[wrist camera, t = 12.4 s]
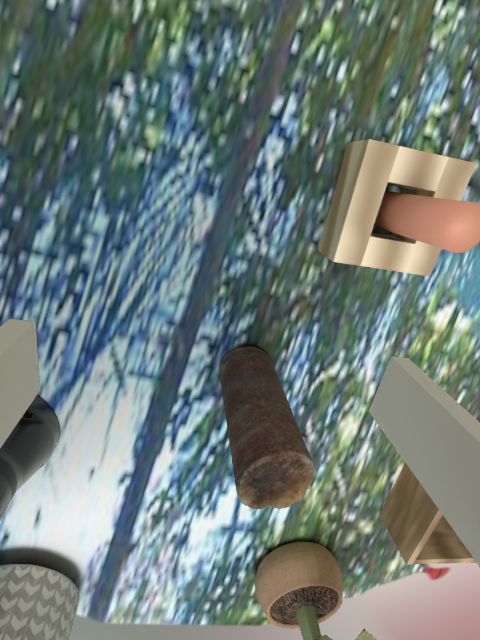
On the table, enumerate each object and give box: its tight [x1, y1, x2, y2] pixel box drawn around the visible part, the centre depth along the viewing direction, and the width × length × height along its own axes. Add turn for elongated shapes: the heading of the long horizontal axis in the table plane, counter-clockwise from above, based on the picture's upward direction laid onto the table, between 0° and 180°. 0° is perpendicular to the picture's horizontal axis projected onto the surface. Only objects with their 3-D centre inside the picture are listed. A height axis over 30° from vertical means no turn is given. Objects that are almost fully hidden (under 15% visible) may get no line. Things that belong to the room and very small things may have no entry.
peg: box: [374, 191, 480, 253], centre depth 33 cm, size 4×4×14 cm
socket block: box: [318, 139, 476, 276], centre depth 37 cm, size 12×12×5 cm
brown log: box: [219, 347, 314, 509], centre depth 38 cm, size 8×7×20 cm
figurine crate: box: [380, 463, 476, 564], centre depth 58 cm, size 15×19×9 cm
